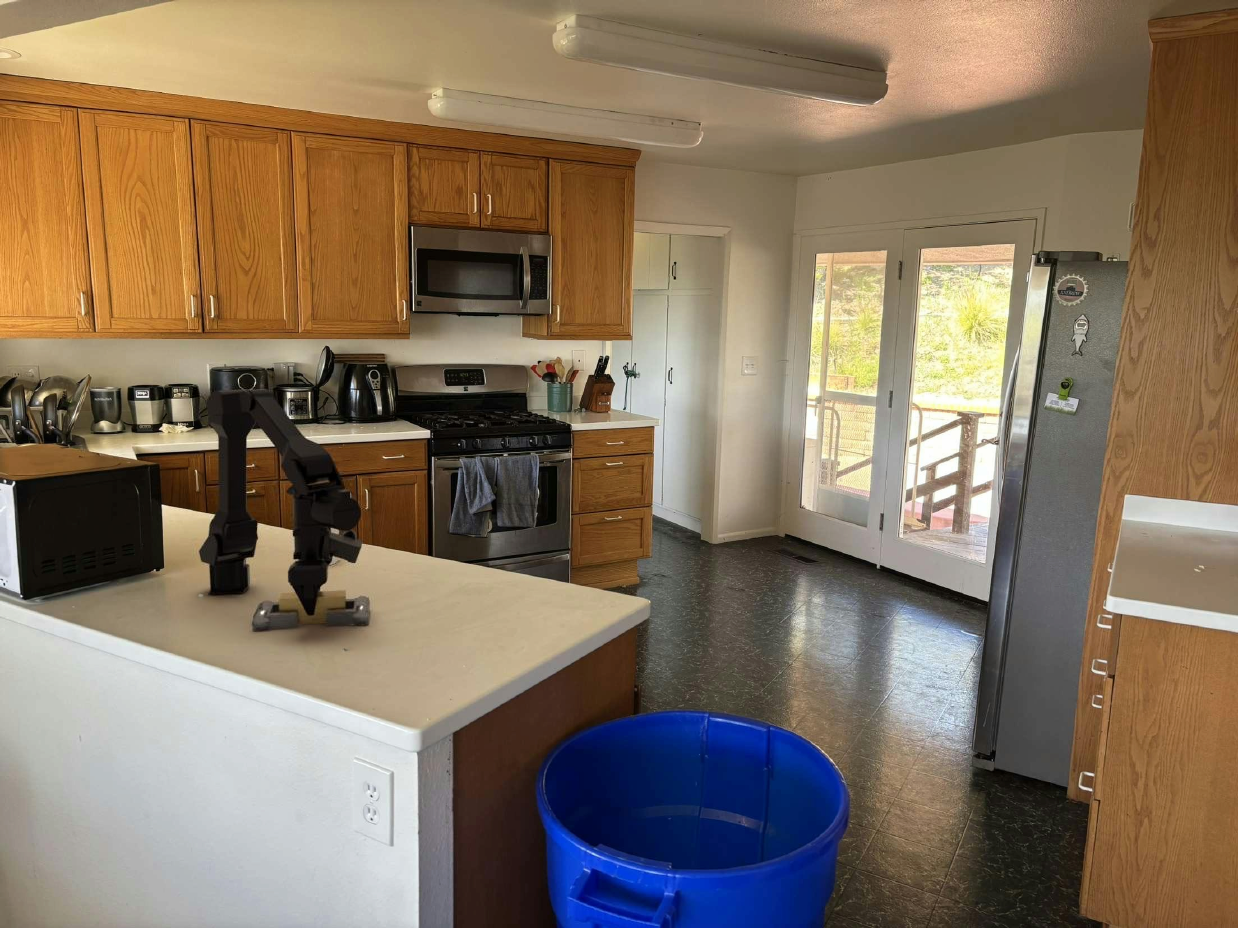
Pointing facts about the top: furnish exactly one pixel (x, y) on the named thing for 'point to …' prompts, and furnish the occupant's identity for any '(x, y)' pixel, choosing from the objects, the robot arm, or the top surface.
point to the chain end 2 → (350, 613)
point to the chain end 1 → (272, 617)
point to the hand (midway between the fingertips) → (313, 606)
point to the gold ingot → (324, 603)
